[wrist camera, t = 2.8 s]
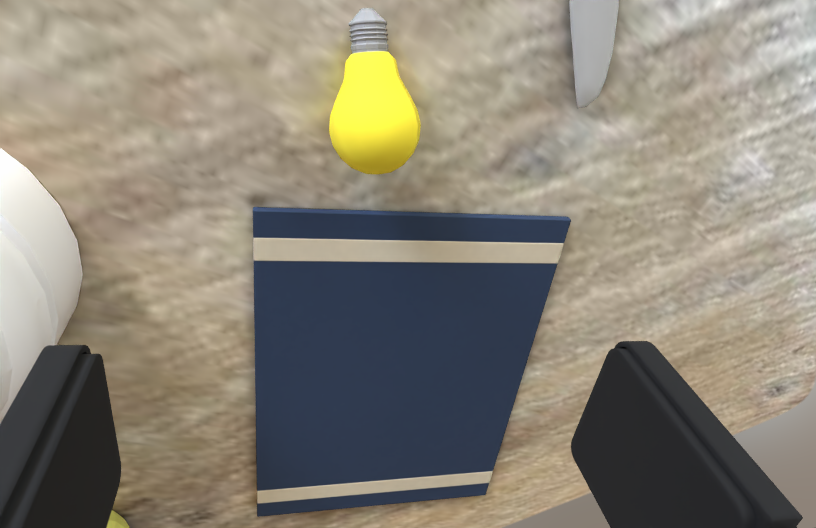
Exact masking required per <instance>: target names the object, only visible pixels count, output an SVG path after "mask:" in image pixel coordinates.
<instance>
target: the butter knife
mask: <svg viewBox="0 0 816 528" xmlns="http://www.w3.org/2000/svg"><path fill="white" fill-rule="evenodd" d="M569 5H570V23H571V37H572V50H573V63H574V77H575V90H576V100H577V108H583V107H587V106H588V105H589V104H590V103H591V102H593V101H594V100H595V99H596V98H597V97H598V96H599V94H600V91H601V89H602V87H603V85H604V82H605V80H606V76H607V72H608V68H609V64H610V60H611V56H612V52H613V45H614V38H615V30H616V23H617V15H618V5H619V0H569Z"/></svg>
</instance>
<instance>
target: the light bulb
mask: <svg viewBox="0 0 816 528" xmlns="http://www.w3.org/2000/svg"><path fill="white" fill-rule="evenodd" d="M386 25H387V22H386V21H385V20H384V19H383V18H382V17H381V16H380V15H379V14H378V13H377V12H375V10H374V9H373V8H364V9H360V11H359V12H358V14H357V15H356V16H355V17H354V18H353V19H352V21H351V22H350V23H349V26H350V27H351V30H350V31H349V32H351V35H350V37H351V40H350V41H351V42H352V46H351V50H352V54H351V55H350V57H349V58H348V59H347V61H346V62H345V75H344V81H343V84H342V86H341V88H340V91H339V93H338V96H337V98H336V101H335V104H334V106H333V109H332V112H331V115H330V127H329V132H330V136H331V140H332V144H333V147H334V148H335V150H336V152H337V153H338V155H339V156H340V158H341V159H342V160H343V161H344V162H345V163H347V164H348V165H349V166H350V167H351V168H353V169H356V170H358V171H360V172H363V173H366V174H384V173H390V172H392V171H394V170H396V169H397V168H399V167H401V166H402V165H404V164H405V162H406V161H407V160H408V159H409V158H410V157H411V155H412V154H413V153H414V151H415V148H416V146H417V144H418V141H419V136H420V126H421V124H420V120H419V115H418V110H417V108H416V106H415V104H414V102H413V100H412V98H411V96H410V95H409V93H408V91H407V89H406V88H405V86H404V84H403V82H402V80H401V79H400V77H399V73H398V68H397V64H396V60H395V59H394V58H393V56H392V55H391V54H390V53H389V52H388V44H387V40H388V39H387V35H388V34H386V31H387V29H386Z"/></svg>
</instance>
